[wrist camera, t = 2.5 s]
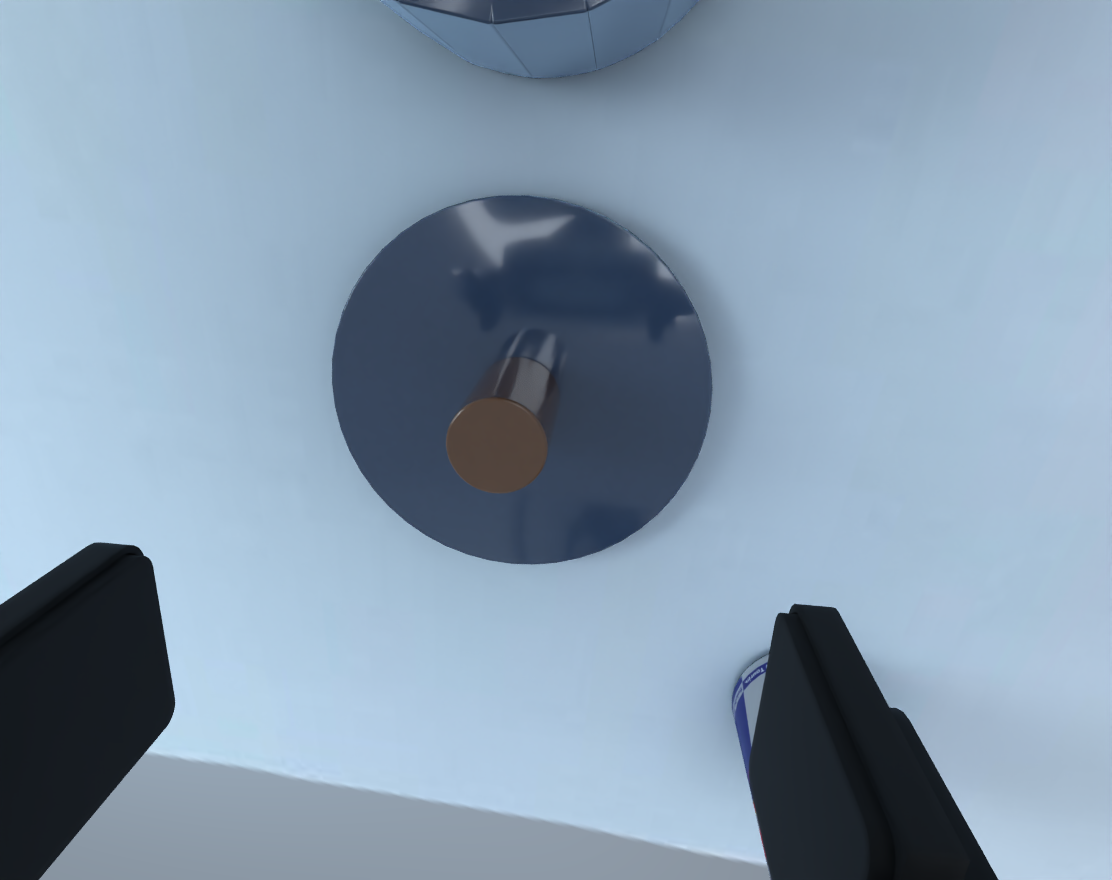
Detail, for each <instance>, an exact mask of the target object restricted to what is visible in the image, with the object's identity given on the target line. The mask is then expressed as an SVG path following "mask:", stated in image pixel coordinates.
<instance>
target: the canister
mask: <svg viewBox="0 0 1112 880" xmlns="http://www.w3.org/2000/svg"><path fill="white" fill-rule="evenodd" d="M380 1H381V2H382V3H383V4H385V5H386V6H387V7H389V8H390V9H391V10H392V11H394V12H395V13H396V14H398V15H399V16H400V17H401V18H403V19H404V20H405V21H407V22H408V23H409V24H410V25H412V26H413V27H414V28H416V29H417V30H418V31H420V32H421V33H423V34H425V35H426V36H428V37H429V38H431V39H432V40H434V41H436V42H437V43H438V44H440V45H442V46H443V47H445V48H446V49H448V50H450V51H451V52H453V53H454V54H456V55H458V56H459V57H461V58H462V59H464V60H465V61H467V62H470V63H472V64H473V65H477V66H481V67H484V68H487V69H491V70H495V71H498V72H502V73H505V74H509V75H516V76H524V77H528V78H557V77H566V76H572V75H578V74H584V73H589V72H592V71H596V70H600V69H602V68H604V67H607V66H610V65H613V64H615V63H617V62H619V61H621V60H623V59H625V58H628V57H630V56H632V55H634V54H636V53H638V52H639V51H641V50H642V49H644V48H645V47H647V46H648V45H650V44H652V43H654V42H656V41H657V39H660V38H661V37H662V36H663V35H664V34H665V33H666V32H667V31H669V30H670V29H671V28H672V27H673V26H674V25H676V24H677V23H678V22H679V21H680V20H681V19H682V18H683V17H684V16H685V15H686V14H687V13H688V12H689V11H690V10H691V9H692V8H693V6H694V5H695V4H696V3H697V2H698V1H699V0H380Z"/></svg>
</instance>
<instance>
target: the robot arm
mask: <svg viewBox="0 0 1112 880" xmlns="http://www.w3.org/2000/svg"><path fill="white" fill-rule="evenodd" d="M174 708H175V697H174V691H173V685H172V678H171V672H170V666H169V660H168V654H167V648H166V642H165V636H164V630H163V624H162V618H161V612H160V606H159V600H158V594H157V588H156V582H155V576H154V570H153V565H152V562H151V560H150V559H149V558H148V557H146V556H144V555H143V553H142V551H141V550H140V549H139V548H138V547H136V546H134V545H122V544H111V543H93V544H91V545H89V546H87V547H85V548H84V549H82V550H81V551H79V552H78V553H77V554H75V555H74V556H72V557H71V558H69V559H68V560H66V561H65V562H63V563H62V564H60V565H59V566H57V567H56V568H54V569H53V570H51V571H50V572H48V573H47V574H45V575H44V576H42V577H41V578H39V579H38V580H36V581H35V582H33V583H32V584H31V585H29V586H28V587H26V588H25V589H23V590H22V591H20V592H19V593H17V594H16V595H14V596H13V597H11V598H10V599H8V600H7V601H5V602H4V603H2V604H1V605H0V880H39V879H40V877H41V876H42V875H43V874H44V873H45V872H46V870H47V869H48V868H49V867H50V866H51V864H52V863H53V862H54V861H55V860H56V858H57V857H58V856H59V855H60V853H61V852H62V851H63V850H64V849H65V848H66V846H67V845H68V844H69V843H70V842H71V840H72V839H73V838H74V837H75V836H76V834H77V833H78V832H79V831H80V830H81V828H82V827H83V826H84V825H85V824H86V822H87V821H88V820H89V819H90V818H91V816H92V815H93V814H94V813H95V812H96V810H97V809H98V808H99V807H100V806H101V804H102V803H103V802H104V801H105V800H106V799H107V797H108V796H109V795H110V793H112V791H113V790H114V789H115V788H116V787H117V785H118V784H119V783H120V782H121V781H122V779H123V778H124V777H125V776H126V775H127V773H128V772H129V771H130V770H131V769H132V767H133V766H134V765H135V764H136V762H137V761H138V760H139V759H140V758H141V757H142V756H143V754H144V753H145V752H146V751H147V750H148V748H149V747H150V746H151V745H152V744H153V742H154V741H155V740H156V739H157V738H158V736H159V735H160V734H161V733H162V732H163V730H164V729H165V728H166V727H167V725H168V724H169V722H170V720H171V718H172V715H173V712H174ZM749 782H750V788H751V793H752V797H753V802H754V806H755V810H756V815H757V819H758V824H759V828H760V832H761V837H762V841H763V846H764V850H765V854H766V859H767V863H768V868H769V872H770V876H771V880H998V878H997V877H996V875H995V873H994V871H993V869H992V868H991V866H990V864H989V862H988V860H987V859H986V857H985V855H984V853H983V851H982V850H981V848H980V846H979V844H978V842H977V841H976V839H975V837H974V835H973V834H972V832H971V830H970V828H969V826H968V825H967V823H966V821H965V819H964V817H963V816H962V814H961V812H960V810H959V808H958V807H957V805H956V803H955V801H954V799H953V798H952V796H951V794H950V792H949V790H948V789H947V787H946V785H945V783H944V781H943V780H942V778H941V776H940V774H939V772H938V771H937V769H936V767H935V765H934V763H933V762H932V760H931V758H930V756H929V754H928V753H927V751H926V749H925V747H924V745H923V744H922V742H921V740H920V738H919V736H918V735H917V733H916V731H915V729H914V727H913V726H912V724H911V722H910V720H909V719H908V718H907V716H906V715H905V714H904V712H902V711H900V710H899V709H897V708H889V706H888V704H887V702H886V700H885V699H884V697H883V695H882V693H881V691H880V689H879V687H878V685H877V684H876V682H875V680H874V678H873V676H872V674H871V672H870V670H869V668H868V667H867V665H866V663H865V661H864V659H863V657H862V655H861V653H860V652H859V650H858V648H857V646H856V644H855V642H854V640H853V638H852V636H851V635H850V633H849V631H848V629H847V627H846V625H845V623H844V621H843V619H842V618H841V616H840V614H839V612H838V611H837V609H836V608H833V607H823V606H812V605H800V604H794V605H793V606H792V607H791V609H790V611H789V614H787V613H779V614H778V615H777V617H776V621H775V625H774V631H773V636H772V641H771V647H770V652H769V657H768V663H767V668H766V673H765V679H764V684H763V689H762V694H761V700H760V705H759V710H758V716H757V721H756V726H755V732H754V737H753V742H752V748H751V753H750V759H749Z"/></svg>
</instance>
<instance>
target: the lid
mask: <svg viewBox="0 0 1112 880" xmlns="http://www.w3.org/2000/svg"><path fill="white" fill-rule="evenodd" d="M332 385H333V393H334V401H335V408H336V412H337V416H338V419H339V423H340V427H341V430H342V433H343V435H344V438H345V441H346V443H347V446H348V448H349V451H350V452H351V454H352V456H353V458H354V460H355V462H356V463H357V465H358V467H359V469H360V471H361V472H362V474H363V475H364V477H365V478H366V479H367V481H368V482H369V484H370V485H371V486H372V488H373V489H374V490H375V492H376V493H377V494H378V495H379V496H380V497H381V498H382V499H383V500H384V501H385V503H386V504H387V505H388V506H389V507H390V508H391V509H392V510H394V511H395V512H396V513H397V514H398V515H399V516H400V517H402V518H403V519H404V520H405V521H406V522H407V523H409V524H410V525H412V526H413V527H415V528H416V529H418V530H419V531H420V532H422V533H423V534H425V535H426V536H428V537H430V538H432V539H434V540H436V541H438V542H440V543H441V544H443V545H445V546H447V547H450V548H453V549H455V550H458V551H460V552H463V553H465V554H468V555H472V556H475V557H479V558H483V559H487V560H491V561H498V562H504V563H511V564H545V563H557V562H562V561H567V560H572V559H577V558H580V557H584V556H587V555H590V554H593V553H596V552H599V551H601V550H603V549H605V548H608V547H610V546H612V545H614V544H616V543H618V542H620V541H622V540H624V539H625V538H627V537H628V536H630V535H631V534H633V533H635V532H636V531H638V530H639V529H641V528H642V527H643V526H644V525H645V524H647V523H648V522H649V521H650V520H651V519H653V518H654V517H655V516H656V515H657V514H658V513H659V512H660V511H661V510H662V509H663V508H664V507H665V506H666V505H667V504H668V503H669V502H670V501H671V499H672V498H673V497H674V496H675V494H676V493H677V492H678V490H679V489H680V487H681V486H682V485H683V483H684V482H685V480H686V479H687V477H688V475H689V473H690V471H691V469H692V467H693V466H694V464H695V462H696V460H697V458H698V455H699V452H700V450H701V447H702V444H703V441H704V439H705V436H706V431H707V426H708V422H709V417H710V412H711V399H712V375H711V362H710V357H709V352H708V347H707V343H706V338H705V335H704V332H703V329H702V327H701V324H700V321H699V318H698V315H697V313H696V311H695V309H694V307H693V305H692V303H691V301H690V299H689V298H688V296H687V294H686V292H685V290H684V288H683V287H682V286H681V284H680V283H679V281H678V280H677V279H676V277H675V276H674V274H673V273H672V272H671V270H670V269H669V267H668V266H667V265H666V264H665V263H664V262H663V261H662V260H661V259H660V258H659V257H658V256H657V255H656V253H655V252H654V251H653V250H652V249H651V248H650V247H649V246H647V245H646V244H645V243H644V242H642V241H641V240H640V239H639V238H637V237H636V236H635V235H634V234H633V233H631V232H630V231H629V230H627V229H625V228H624V227H622V226H620V225H619V224H617V223H615V222H614V221H612V220H610V219H609V218H607V217H605V216H603V215H601V214H598V213H596V212H594V211H591V210H589V209H587V208H584V207H582V206H579V205H575V204H572V203H568V202H565V201H561V200H557V199H552V198H545V197H537V196H530V195H501V196H494V197H487V198H480V199H474V200H470V201H466V202H463V203H460V204H456V205H453V206H450V207H447V208H444V209H442V210H440V211H438V212H436V213H434V214H431V215H429V216H427V217H425V218H423V219H421V220H420V221H418V222H417V223H415V224H414V225H412V226H411V227H409V228H407V229H406V230H404V231H403V232H401V233H400V234H399V235H398V236H397V237H396V238H394V239H393V240H392V241H391V242H390V243H389V244H388V245H386V246H385V247H384V248H383V249H382V250H381V251H380V252H379V254H378V255H377V256H376V257H375V258H374V259H373V261H372V262H371V263H370V264H369V265H368V266H367V268H366V269H365V271H364V272H363V274H362V275H361V277H360V278H359V280H358V282H357V283H356V285H355V286H354V288H353V290H352V292H351V294H350V296H349V299H348V301H347V303H346V305H345V307H344V310H343V312H342V315H341V319H340V322H339V326H338V329H337V333H336V337H335V344H334V351H333V358H332Z"/></svg>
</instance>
